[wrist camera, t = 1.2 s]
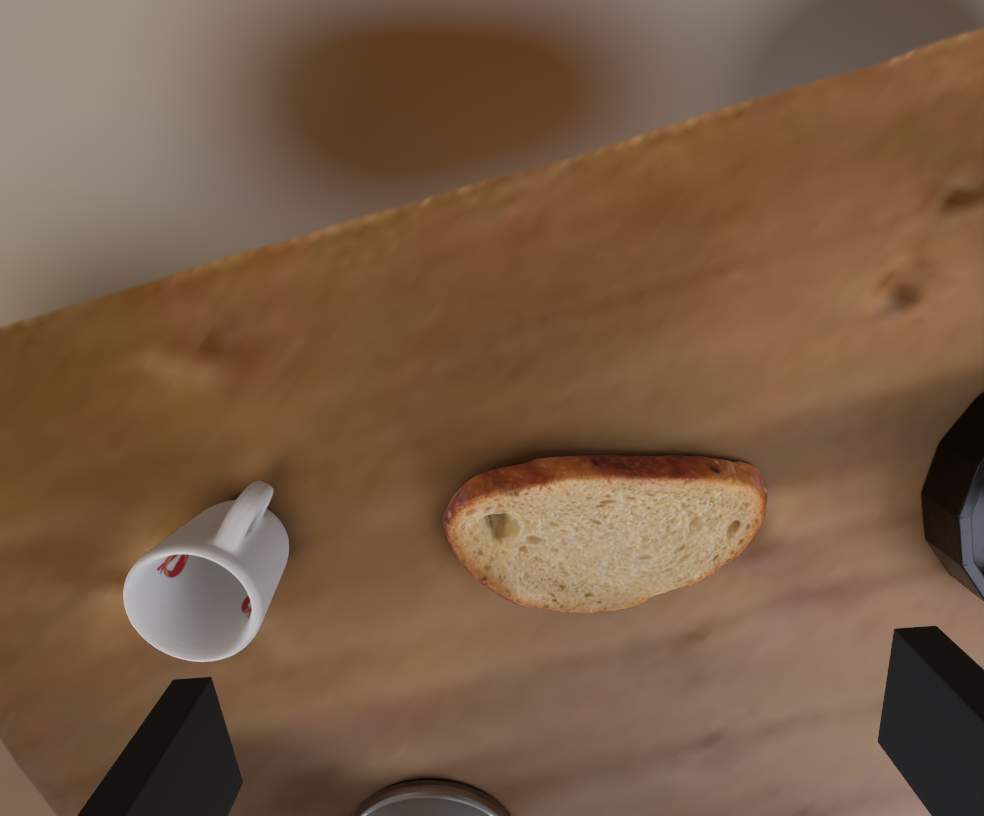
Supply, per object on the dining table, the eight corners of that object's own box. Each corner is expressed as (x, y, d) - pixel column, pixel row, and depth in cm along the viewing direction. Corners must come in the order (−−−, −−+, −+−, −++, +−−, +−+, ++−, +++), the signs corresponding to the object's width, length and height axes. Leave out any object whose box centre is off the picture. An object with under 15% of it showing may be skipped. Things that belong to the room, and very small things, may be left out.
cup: (230, 431, 38) (164, 483, 31) (339, 485, 39) (301, 548, 32) (175, 553, 41) (102, 629, 34) (277, 600, 42) (230, 683, 35)
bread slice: (786, 491, 39) (815, 519, 36) (610, 659, 44) (620, 698, 40) (587, 330, 36) (596, 343, 32) (418, 530, 41) (411, 560, 37)
